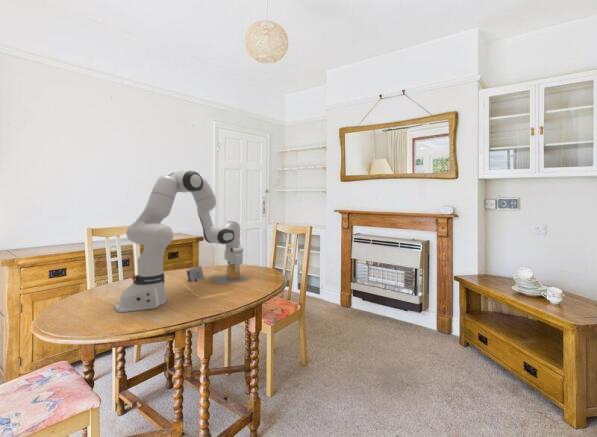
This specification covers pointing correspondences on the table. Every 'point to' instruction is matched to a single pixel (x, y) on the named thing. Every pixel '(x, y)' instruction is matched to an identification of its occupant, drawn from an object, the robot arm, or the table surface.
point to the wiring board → (227, 279)
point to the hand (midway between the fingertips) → (233, 269)
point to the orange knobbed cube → (232, 271)
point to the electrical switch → (195, 274)
